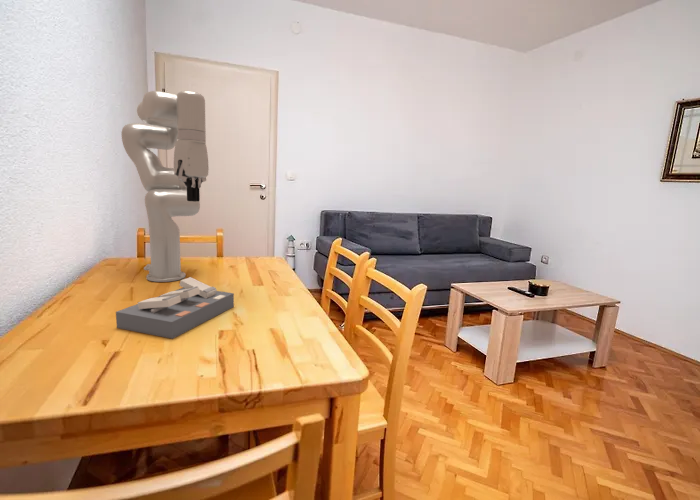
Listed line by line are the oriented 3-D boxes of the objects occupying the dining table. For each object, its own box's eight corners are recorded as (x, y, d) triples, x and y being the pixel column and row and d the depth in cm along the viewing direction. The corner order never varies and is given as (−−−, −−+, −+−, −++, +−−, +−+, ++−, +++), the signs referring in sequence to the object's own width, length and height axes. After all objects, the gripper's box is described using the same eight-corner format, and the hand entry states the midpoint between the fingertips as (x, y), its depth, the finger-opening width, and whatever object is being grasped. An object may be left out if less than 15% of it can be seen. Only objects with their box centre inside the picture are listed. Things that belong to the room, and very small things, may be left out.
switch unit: (116, 327, 87) (115, 308, 87) (187, 299, 110) (186, 283, 109) (172, 338, 83) (171, 318, 82) (233, 306, 106) (233, 290, 105)
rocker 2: (161, 301, 95) (159, 294, 95) (172, 297, 99) (171, 290, 99) (189, 297, 92) (187, 290, 92) (200, 293, 96) (198, 286, 96)
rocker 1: (139, 309, 89) (137, 301, 88) (152, 304, 92) (150, 296, 92) (168, 306, 86) (167, 298, 86) (181, 301, 90) (179, 294, 89)
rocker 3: (179, 285, 101) (180, 279, 101) (189, 282, 105) (190, 276, 105) (206, 298, 100) (207, 292, 99) (215, 294, 103) (216, 288, 103)
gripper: (198, 140, 115) (199, 199, 118) (161, 133, 101) (164, 201, 104) (218, 141, 113) (219, 201, 116) (184, 134, 99) (186, 202, 102)
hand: (193, 201), depth 110 cm, fingers closed
